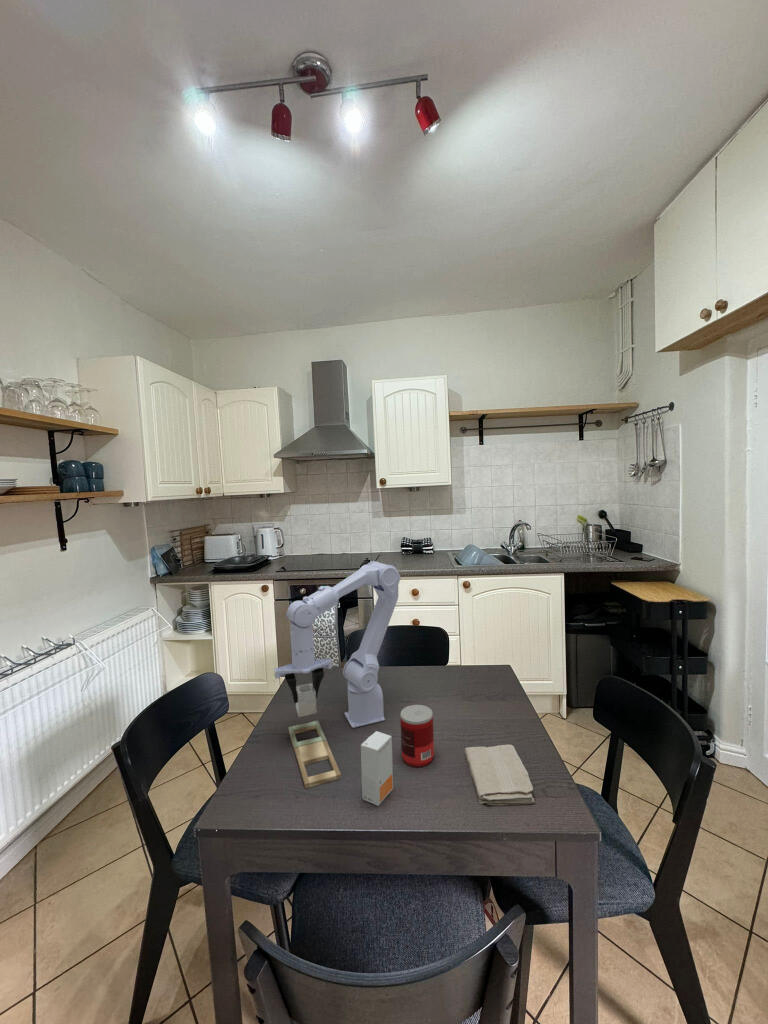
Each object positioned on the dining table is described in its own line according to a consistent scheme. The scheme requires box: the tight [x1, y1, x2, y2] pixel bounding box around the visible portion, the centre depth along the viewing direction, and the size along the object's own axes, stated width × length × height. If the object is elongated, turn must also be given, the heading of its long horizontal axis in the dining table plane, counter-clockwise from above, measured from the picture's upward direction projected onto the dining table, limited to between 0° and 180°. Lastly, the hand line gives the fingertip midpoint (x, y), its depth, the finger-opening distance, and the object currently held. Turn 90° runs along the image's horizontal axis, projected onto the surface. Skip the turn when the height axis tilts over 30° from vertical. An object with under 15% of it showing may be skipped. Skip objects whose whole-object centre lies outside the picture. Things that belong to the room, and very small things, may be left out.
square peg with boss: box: [295, 682, 317, 718], centre depth 113 cm, size 4×4×6 cm
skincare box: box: [360, 730, 394, 807], centre depth 92 cm, size 6×4×12 cm
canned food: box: [399, 704, 435, 768], centre depth 104 cm, size 8×8×11 cm
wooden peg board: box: [288, 720, 342, 789], centre depth 107 cm, size 8×24×1 cm, turn 21°
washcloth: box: [463, 744, 535, 806], centre depth 97 cm, size 12×18×3 cm, turn 1°
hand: (305, 699), depth 113 cm, fingers closed on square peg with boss, 4 cm apart
